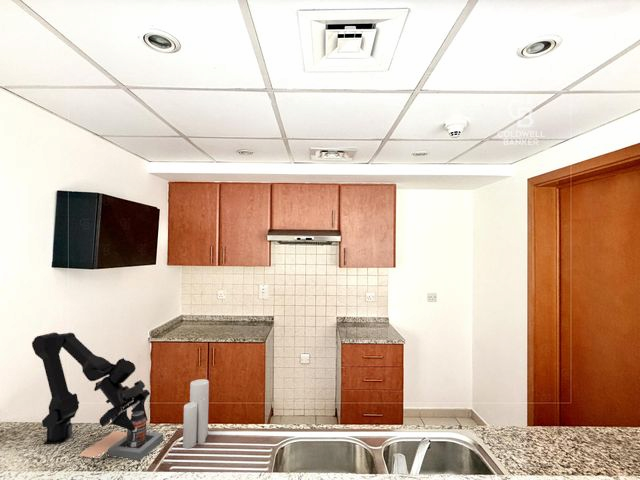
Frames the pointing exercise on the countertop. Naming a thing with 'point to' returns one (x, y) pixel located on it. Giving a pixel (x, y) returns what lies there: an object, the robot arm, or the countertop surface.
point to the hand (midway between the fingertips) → (140, 425)
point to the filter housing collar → (135, 453)
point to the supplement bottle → (137, 430)
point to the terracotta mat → (104, 444)
